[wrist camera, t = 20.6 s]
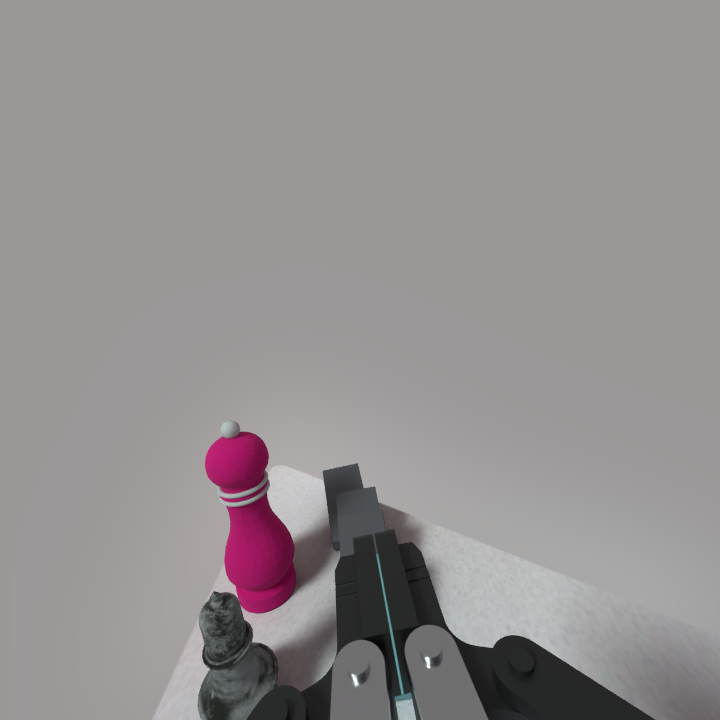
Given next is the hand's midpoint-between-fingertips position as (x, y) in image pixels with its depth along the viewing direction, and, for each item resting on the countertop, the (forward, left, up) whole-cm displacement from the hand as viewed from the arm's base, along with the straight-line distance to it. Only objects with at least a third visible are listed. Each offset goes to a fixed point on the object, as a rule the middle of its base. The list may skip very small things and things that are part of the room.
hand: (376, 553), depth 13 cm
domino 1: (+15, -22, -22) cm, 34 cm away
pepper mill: (+22, -14, -23) cm, 34 cm away
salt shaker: (+15, -4, -23) cm, 28 cm away
